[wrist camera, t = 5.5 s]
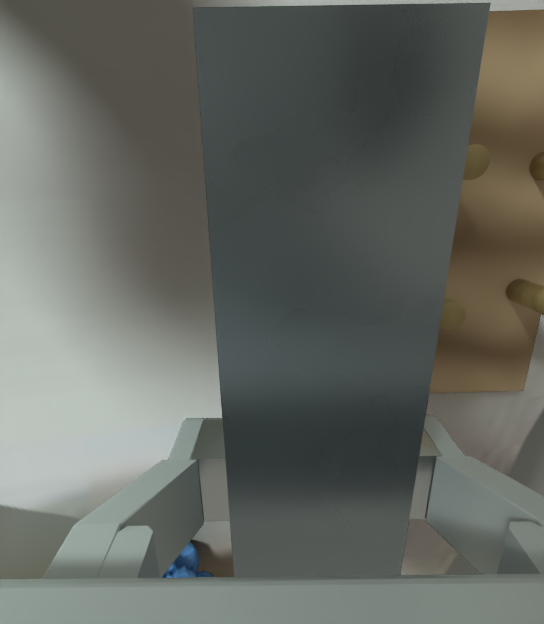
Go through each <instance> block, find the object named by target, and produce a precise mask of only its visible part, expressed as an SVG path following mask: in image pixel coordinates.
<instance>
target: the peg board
mask: <svg viewBox="0 0 544 624" xmlns="http://www.w3.org/2000/svg"><path fill="white" fill-rule="evenodd" d="M541 314H543V315H544V10H517V11H489V16H488V22H487V28H486V35H485V41H484V47H483V54H482V60H481V67H480V73H479V79H478V86H477V92H476V98H475V105H474V111H473V117H472V124H471V130H470V136H469V143H468V149H467V155H466V162H465V168H464V175H463V181H462V187H461V194H460V200H459V206H458V213H457V219H456V225H455V232H454V238H453V244H452V251H451V257H450V264H449V270H448V276H447V283H446V289H445V295H444V302H443V308H442V314H441V321H440V327H439V333H438V340H437V346H436V352H435V359H434V365H433V372H432V378H431V384H430V391H429V393H446V392H487V391H524V386H525V382H526V377H527V373H528V369H529V364H530V360H531V355H532V351H533V347H534V342H535V338H536V333H537V329H538V325H539V320H540V316H541Z"/></svg>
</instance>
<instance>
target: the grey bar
mask: <svg viewBox="0 0 544 624" xmlns="http://www.w3.org/2000/svg"><path fill="white" fill-rule="evenodd" d="M489 9H490V3H452V4H388V5H324V6H261V7H197V8H193V18H194V32H195V46H196V59H197V73H198V87H199V101H200V115H201V129H202V142H203V156H204V170H205V184H206V198H207V211H208V225H209V239H210V253H211V267H212V280H213V294H214V308H215V322H216V336H217V349H218V363H219V377H220V391H221V405H222V419H223V432H224V446H225V460H226V474H227V488H228V501H229V515H230V529H231V543H232V557H233V570H234V577H276V576H362V575H401V569H402V562H403V556H404V549H405V543H406V537H407V530H408V524H409V518H410V511H411V505H412V499H413V492H414V486H415V480H416V473H417V467H418V460H419V454H420V448H421V441H422V435H423V429H424V422H425V416H426V410H427V403H428V397H429V391H430V384H431V378H432V372H433V365H434V359H435V352H436V346H437V340H438V333H439V327H440V321H441V314H442V308H443V302H444V295H445V289H446V283H447V276H448V270H449V264H450V257H451V251H452V244H453V238H454V232H455V225H456V219H457V213H458V206H459V200H460V194H461V187H462V181H463V175H464V168H465V162H466V155H467V149H468V143H469V136H470V130H471V124H472V117H473V111H474V105H475V98H476V92H477V86H478V79H479V73H480V67H481V60H482V54H483V47H484V41H485V35H486V28H487V22H488V16H489Z"/></svg>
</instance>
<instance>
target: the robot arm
mask: <svg viewBox="0 0 544 624" xmlns="http://www.w3.org/2000/svg"><path fill="white" fill-rule="evenodd" d="M409 519H426V522H427V523H428V524H429V525H430V526H432V527H433V528H434V529H435V530H436V531H437V532H438V533H439V534H440V535H441V536H442V537H443V538H444V539H445V540H446V541H447V542H448V543H449V544H450V545H451V546H453V547H454V548H455V549H456V550H457V551H458V552H459V553H460V554H461V555H462V556H463V557H464V558H465V559H466V560H467V561H468V562H469V563H470V564H472V565H473V566H474V567H475V568H476V569H477V570H478V571H479V572H480V573H481V574H467V575H465V574H462V575H362V576H276V577H187V578H161V577H162V576H163V575H164V573H165V572H166V571H167V570H168V568H169V567H170V566H171V565H172V563H173V562H174V561H175V560H176V558H177V557H178V556H179V555H180V553H181V552H182V551H183V549H184V548H185V547H186V546H187V544H188V543H189V542H190V541H191V539H192V538H193V537H194V536H195V534H196V533H197V532H198V530H199V529H200V528H201V527H202V525H203V522H213V521H230V515H229V501H228V488H227V474H226V460H225V446H224V432H223V419H222V418H205V419H204V418H186V419H185V420H184V421H183V423H182V426H181V428H180V431H179V433H178V436H177V438H176V441H175V443H174V446H173V448H172V451H171V453H170V456H169V459H168V460H162V461H160V462H159V463H157V464H156V465H155V466H153V467H152V468H151V469H149V470H148V471H147V472H145V473H144V474H143V475H141V476H140V477H138V478H137V479H136V480H134V481H133V482H132V483H130V484H129V485H128V486H126V487H125V488H123V489H122V490H121V491H119V492H118V493H117V494H115V495H114V496H113V497H111V498H110V499H109V500H107V501H106V502H104V503H103V504H102V505H100V506H99V507H98V508H96V509H95V510H94V511H92V512H91V513H89V514H88V515H87V516H85V517H84V518H83V519H81V520H80V521H79V522H77V523H76V524H75V525H74V526H73V528H72V530H71V531H70V533H69V535H68V536H67V538H66V539H65V541H64V543H63V545H62V546H61V548H60V549H59V551H58V553H57V555H56V556H55V558H54V559H53V561H52V563H51V564H50V566H49V568H48V569H47V571H46V573H45V574H44V576H43V577H42V579H11V580H10V579H5V580H0V624H544V496H542V495H540V494H539V493H537V492H535V491H533V490H531V489H530V488H528V487H526V486H524V485H522V484H521V483H519V482H517V481H515V480H513V479H512V478H510V477H508V476H506V475H504V474H503V473H501V472H499V471H497V470H495V469H494V468H492V467H490V466H488V465H486V464H485V463H483V462H481V461H479V460H477V459H476V458H474V457H472V456H465V455H464V454H463V452H462V451H461V450H460V449H459V447H458V446H457V445H456V443H455V442H454V441H453V439H452V438H451V437H450V435H449V434H448V433H447V431H446V430H445V429H444V427H443V426H442V425H441V423H440V422H439V421H438V419H437V418H436V417H435V416H433V415H426V416H425V422H424V429H423V435H422V441H421V448H420V454H419V460H418V467H417V473H416V480H415V486H414V492H413V499H412V505H411V511H410V518H409Z"/></svg>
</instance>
